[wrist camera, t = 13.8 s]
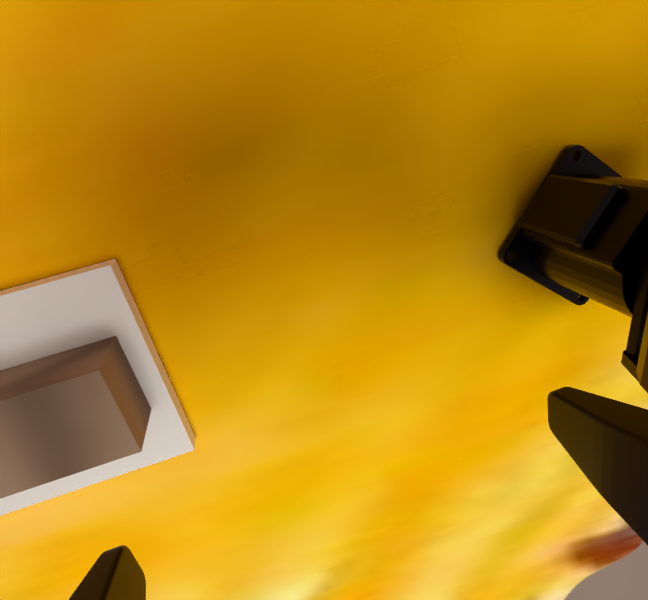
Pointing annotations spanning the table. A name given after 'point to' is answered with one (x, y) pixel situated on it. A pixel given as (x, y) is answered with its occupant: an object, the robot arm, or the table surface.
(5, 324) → the ridge base plate
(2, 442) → the walnut ridge
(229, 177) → the table surface
